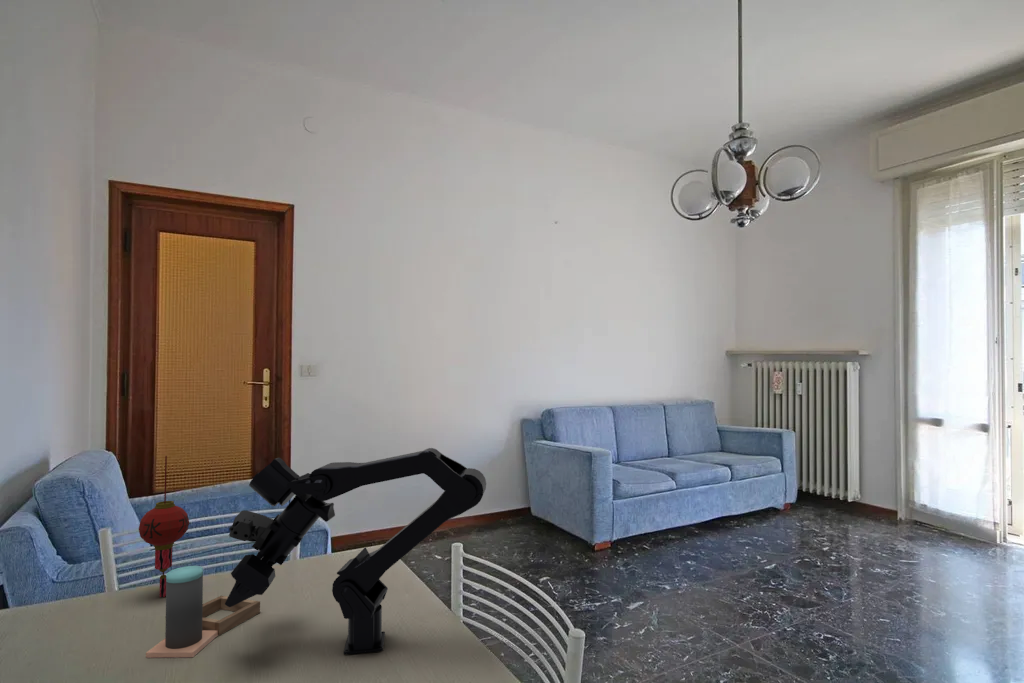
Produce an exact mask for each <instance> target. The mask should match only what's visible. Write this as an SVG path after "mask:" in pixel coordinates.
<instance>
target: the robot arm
mask: <svg viewBox="0 0 1024 683" xmlns="http://www.w3.org/2000/svg"><path fill="white" fill-rule="evenodd" d="M422 474H424V475H425V476H426V477H428V478H429V479H431V480H432V481H433V482H434V483H435V484H436V485H437V486H439V488H440V489H442V490H443V492H442V493H441V494H440V496H439V497H437V499H436V501H434V502H433V503H432V504H431V505H430V506H429V507H427V508H426V509H424V510H423V511H422V512H421V513H419V514H418V515H417V516H416V517H415V518H414V519H413V520H411V521H410V522H409V523H408V524H407V525H406V526H404V527H403V528H401V530H399V531H398V532H397V533H395V535H393V536H392V537H391V538H390V539H388V540H387V541H386V542H385V543H384V544H383V545H382V546H380V547H379V548H377V549H376V550H374V551H371V552H369V551H368V549H367V547H364V548H362V550H361V551H360V552H358V554H357V555H356V556H355V557H353V558H350V559H349V560H348V561H346V562H345V564H344V565H343V566H342V567H341V568H340V569H339V570H338V571H337V572H336V574H337V575H338V576H337V577H336V578H335V579H334V581H333V583H332V589H331V591H332V596H333V598H334V600H335V602H337V603H338V605H339V607H340V610H341V613H342V615H343V618H344V619H346V620H347V623H348V624H347V625H348V626H347V629H348V630H347V636H346V637H347V638H346V641H345V644H344V648H343V655H352V654H353V655H354V654H365V653H373V652H374V653H377V652H382V651H383V650H384V646H385V644H384V643H385V639H386V638H385V635H386V634H385V633H386V632H385V631H384V630H382V627H383V626H382V624H383V623H382V622H383V620H382V616H383V615H382V614H383V613H382V612H383V611H382V610H383V606H382V604H381V603H382V602H383V601H384V600H385V598H386V596H387V593H388V590H389V589H388V586H387V585H385V583H384V582H383V581H382V580H381V578H382V576H383V575H384V574H385V573H386V572H387V571H388V570H389V569H390V568H392V566H394V565H395V564H396V563H398V561H400V560H401V559H402V558H403V557H405V556H406V555H408V553H409V552H411V550H413V549H414V548H415V547H417V546H418V545H419V544H420V543H421V542H423V540H425V539H427V537H428V536H430V535H432V533H433V532H435V531H436V530H437V529H438V528H440V527H441V526H442V525H443V524H444V523H445V522H446V521H449V520H452V519H454V518H455V517H458V516H460V515H463V513H465V512H468V511H469V510H470V509H472V508H474V507H475V506H477V505H478V504H479V503H480V502H481V500H482V499H483V497H484V494H485V492H486V489H487V481H486V480H487V479H486V477H485V475H484V473H482V472H481V471H480V470H479V469H476V468H470V467H469V468H468V467H466V466H465V465H463V464H462V463H460V462H458V461H457V460H455V459H452V458H450V457H449V456H447V455H444V454H443V453H442V452H440V451H439V450H438V449H436V448H433V447H428V448H426V449H424V450H420V451H414V452H410V453H406V454H401V455H397V456H392V457H385V458H382V459H377V460H371V461H367V462H351V461H342V462H341V461H340V462H330V463H327V464H325V465H323V466H320V467H318V468H316V469H314V470H312V471H311V473H305V474H303V475H301V476H300V475H299V474H298V473H297V472H295V471H294V470H293V469H292V468H290V466H289V465H287V463H286V461H284V459H282V458H281V457H277V458H274V459H273V460H272V461H271V462H270V463H269V464H267V465H266V466H265V467H264V468H263V469H262V470H260V471H259V472H257V473H256V474H255V475H254V477H252V479H251V480H250V482H249V485H248V486H249V487H250V488H251V489H252V490H253V491H255V492H256V493H257V494H258V495H259V496H260V497H261V498H263V499H264V501H266V502H267V503H268V504H269V505H270V506H271V507H276V506H277V505H280V507H282V506H284V505H286V504H287V503H288V502H289V501H290V502H289V503H288V505H286V507H285V508H284V509H283V511H281V512H280V513H279V514H276V516H275V517H274V518H270V517H267V516H266V515H263V514H260V513H257V512H254V511H250V510H241V511H240V512H239V513H237V515H236V516H235V517H234V519H233V522H232V524H231V526H229V528H228V531H229V534H228V535H229V537H230V538H233V539H236V540H238V541H243V542H251V543H253V544H252V546H251V547H252V548H253V549H254V550H256V551H258V552H257V554H256V555H255V554H254V553H252V554H245V555H244V556H243V558H241V560H239V562H238V563H237V564H236V566H235V567H234V568H233V569H232V571H231V572H230V575H231V578H233V579H234V580H235V582H234V585H233V586H232V589H231V591H230V593H229V595H228V596H227V597H228V598H227V600H226V602H225V605H226V606H228V607H232V606H234V605H236V604H238V603H240V602H242V601H244V600H246V599H247V600H249V599H251V598H252V597H255V596H262V595H264V594H265V592H266V591H267V590H268V589H269V587H270V586H271V584H272V582H273V580H274V579H275V578H276V570H275V568H274V567H273V566H274V565H276V564H278V565H279V566H282V565H283V563H285V561H286V560H287V558H288V557H289V555H290V554H291V553H292V551H293V550H294V549H295V547H296V548H297V547H298V545H299V544H300V543H301V541H302V540H303V538H304V537H305V535H306V534H307V533H308V532H309V531H310V530H311V528H312V527H313V526H314V525H315V524H316V523H317V521H318V520H319V518H321V520H323V521H324V522H326V523H327V522H328V521H330V520H332V519H333V518H334V517H335V516H336V513H335V512H336V511H335V508H334V505H335V504H334V502H329V503H328V502H326V501H329V500H331V499H334V498H336V497H339V496H341V495H344V494H346V493H349V492H350V491H353V490H356V489H358V488H360V487H363V486H368V485H373V484H377V483H378V484H379V483H383V482H387V481H388V482H389V481H392V480H398V479H403V478H407V477H411V476H417V475H422Z"/></svg>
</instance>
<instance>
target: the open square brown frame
mask: <svg viewBox="0 0 1024 683" xmlns="http://www.w3.org/2000/svg"><path fill="white" fill-rule="evenodd" d="M227 598H228V596H225V595H220V596H217V597H216V598H213V599H211V600H208V601H207V602H204V603H203V612H202V630H216V631H218V636H221V635H222V634H224V633H227V632H229V631H230V630H232V629H233V628H235V627H237V626H239V625H241V624H242V623H244V622H246V621H248V620H250V619H251V618H253V617H255V616H257V615H258V614H261V601H259V600H254V599H253V600H252V599H246V600H244V601H242V602H240V603H238V604H236V605H234V606H232V607H228V606H226V605H225V602H226V600H227ZM220 610H224V611H231V612H232V613H231V614H229V615H227V616H225V617H223V618H221V619H215V618H210V617H209V616H210V615H212V614H214V613H216V612H218V611H220Z"/></svg>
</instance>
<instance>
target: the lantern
mask: <svg viewBox="0 0 1024 683" xmlns="http://www.w3.org/2000/svg"><path fill="white" fill-rule="evenodd" d="M164 458H165V459H164V460H165V461H164V463H165V464H164V498H163V499H164V500H163V501H159V502H156V503H155V506H154V507H153V508H152V509H150V510H149V511H147V512H145V514H144V515H143V516H142V518H141V519H140V522H139V525H138V533H139V538H141V540H143V541H144V542H145V543H147V544H148V545H152V546H153V548H154V569H155V570H158V571H159V572H161V573H162V575H160V577H159V596H158V597H159V598H160V597H163V598H166V597H165V596H166V574H165V572H167V570H168V569H169V568H172V566H173V548H174V545H175V543H176V542H177V541H179V540H180V539H181V538H182V537H183V536H184V535H185V534H186V532H187V531H188V530H189V526H190V520H189V514H188V513H187V512H186V510H185V509H183V507H181V506H178V505H176V503H175V501H174V500H167V467H168V466H167V464H168V462H167V461H168V460H167V459H168V455H165V456H164Z"/></svg>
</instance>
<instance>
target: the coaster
mask: <svg viewBox="0 0 1024 683" xmlns="http://www.w3.org/2000/svg"><path fill="white" fill-rule="evenodd" d="M218 636H219V635H218V631H216V630H202V639H201V640H200V641H199V642H197V643H196V644H193V645H191V646H188V647H184V648H179V649H169V648H167V647H166V646H165V638H163V639H162V640H160V642H157V644H155V645H154V646H153V647H152V648H150V649H148V650H147V651H146V652H145V658H149V659H150V658H151V659H152V658H194V657H195V656H196V655H198V653H200V652H201V651H202V650H204V648H206V647H207V645H209V643H212V641H213V640H215V639H216V637H218Z"/></svg>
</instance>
